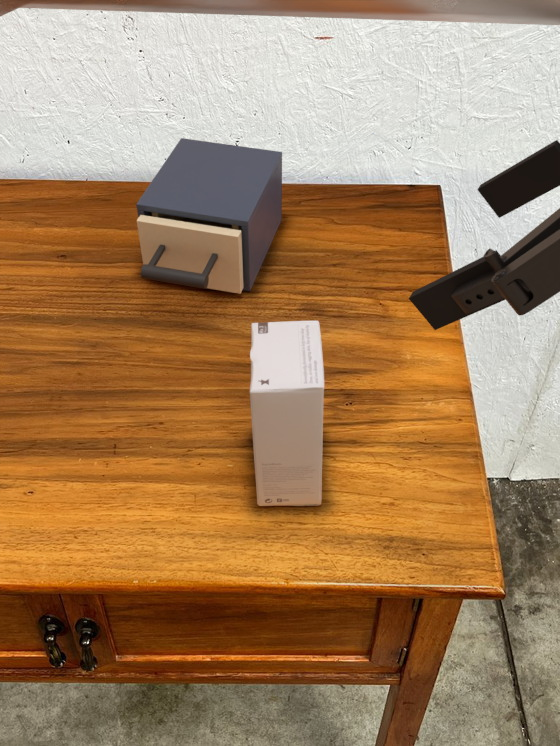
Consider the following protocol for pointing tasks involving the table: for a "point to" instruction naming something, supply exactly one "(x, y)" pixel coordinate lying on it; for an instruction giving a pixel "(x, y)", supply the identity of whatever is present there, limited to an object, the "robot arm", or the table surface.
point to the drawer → (191, 252)
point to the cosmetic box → (287, 412)
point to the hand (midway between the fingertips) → (458, 252)
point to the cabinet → (222, 193)
